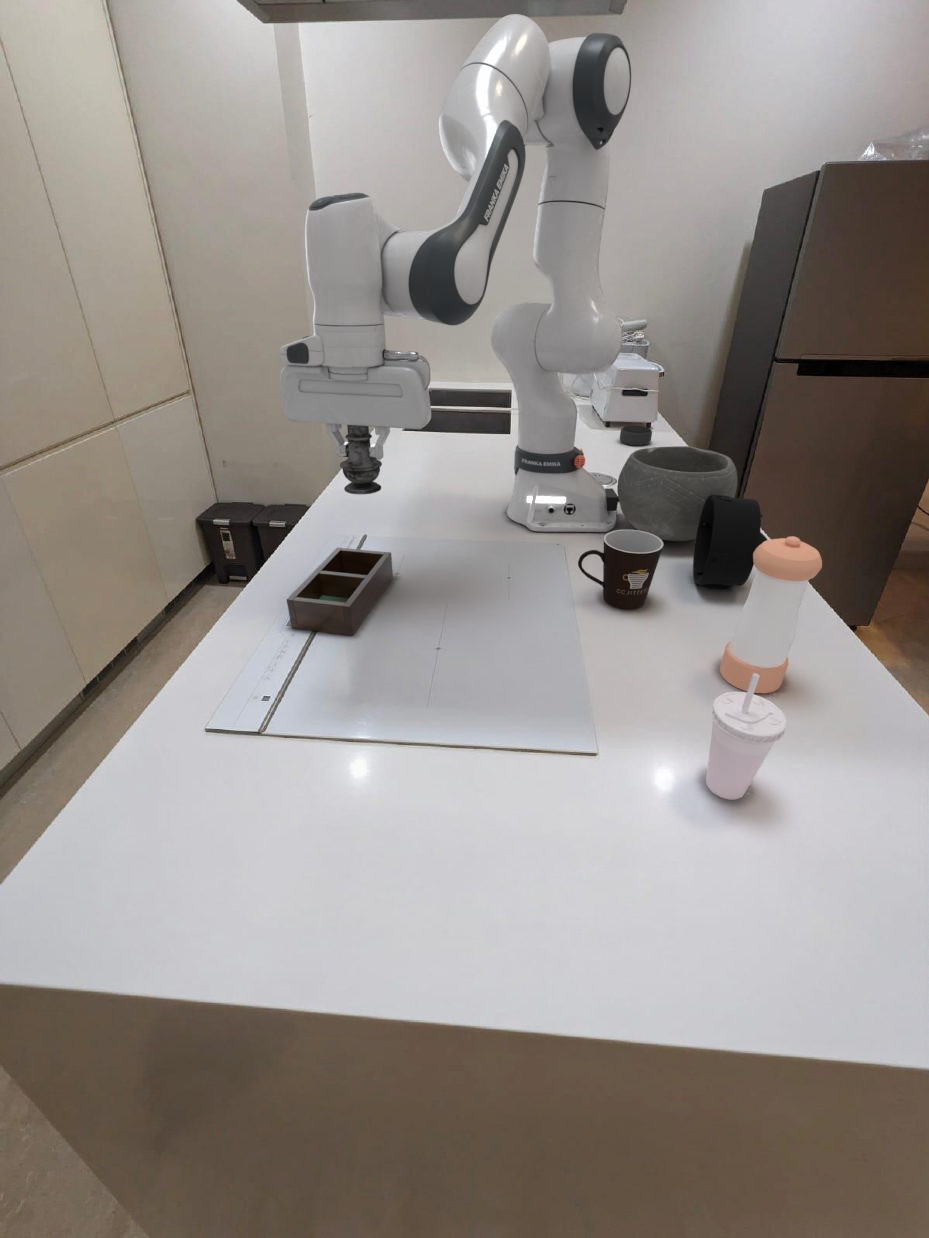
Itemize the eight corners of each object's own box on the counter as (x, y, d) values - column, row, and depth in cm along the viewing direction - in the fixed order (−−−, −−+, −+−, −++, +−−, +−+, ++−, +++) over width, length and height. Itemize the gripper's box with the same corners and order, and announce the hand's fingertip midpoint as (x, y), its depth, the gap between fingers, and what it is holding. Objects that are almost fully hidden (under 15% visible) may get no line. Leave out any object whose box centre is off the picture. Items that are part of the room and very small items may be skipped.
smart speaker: (654, 441, 171) (656, 427, 169) (644, 448, 165) (647, 434, 163) (624, 437, 175) (626, 423, 173) (614, 444, 169) (616, 430, 167)
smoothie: (681, 764, 61) (711, 655, 54) (740, 760, 62) (777, 652, 54) (708, 812, 56) (745, 699, 48) (772, 808, 56) (818, 695, 49)
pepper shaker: (776, 700, 70) (828, 557, 60) (713, 681, 73) (753, 542, 63) (784, 670, 75) (833, 533, 65) (725, 653, 79) (763, 520, 68)
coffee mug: (653, 591, 93) (664, 533, 88) (650, 617, 86) (661, 557, 81) (581, 580, 97) (588, 524, 91) (572, 605, 90) (579, 545, 84)
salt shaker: (375, 496, 80) (369, 406, 74) (335, 493, 81) (326, 404, 75) (388, 483, 85) (383, 398, 79) (351, 481, 86) (343, 396, 80)
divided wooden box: (393, 578, 97) (391, 552, 95) (353, 635, 82) (349, 606, 80) (340, 572, 99) (337, 547, 97) (291, 628, 84) (286, 599, 82)
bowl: (664, 566, 101) (681, 483, 93) (589, 525, 117) (598, 450, 109) (748, 543, 109) (770, 464, 101) (667, 507, 125) (681, 437, 117)
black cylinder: (794, 519, 81) (719, 513, 83) (766, 608, 89) (697, 600, 91) (773, 486, 93) (707, 481, 95) (750, 567, 101) (689, 561, 103)
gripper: (436, 349, 75) (437, 456, 82) (290, 343, 78) (303, 447, 86) (422, 355, 69) (425, 469, 77) (266, 348, 73) (283, 458, 80)
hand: (360, 457), depth 81 cm, fingers closed on salt shaker, 3 cm apart
